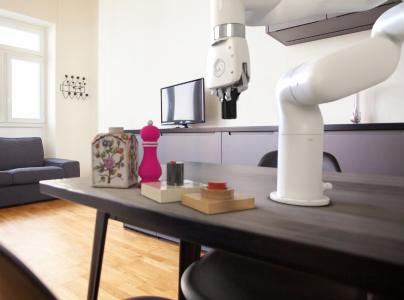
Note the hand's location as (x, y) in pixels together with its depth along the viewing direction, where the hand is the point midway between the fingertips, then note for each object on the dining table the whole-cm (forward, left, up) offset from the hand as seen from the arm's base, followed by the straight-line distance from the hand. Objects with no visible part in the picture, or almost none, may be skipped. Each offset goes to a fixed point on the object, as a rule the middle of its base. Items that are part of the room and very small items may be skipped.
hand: (229, 118), depth 67 cm
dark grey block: (+8, -11, -16) cm, 21 cm away
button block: (+5, +2, -19) cm, 20 cm away
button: (+5, +2, -16) cm, 17 cm away
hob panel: (+8, -11, -19) cm, 23 cm away
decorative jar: (+16, -34, -19) cm, 42 cm away
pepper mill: (+8, -26, -19) cm, 33 cm away
